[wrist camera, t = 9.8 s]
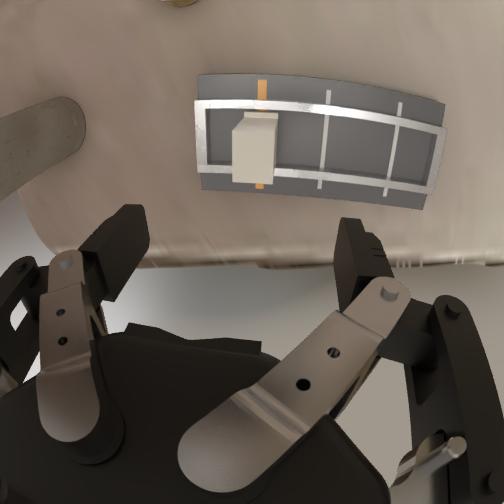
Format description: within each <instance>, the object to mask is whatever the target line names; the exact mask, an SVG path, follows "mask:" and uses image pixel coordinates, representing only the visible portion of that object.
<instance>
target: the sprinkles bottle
mask: <svg viewBox="0 0 504 504" xmlns="http://www.w3.org/2000/svg"><path fill="white" fill-rule="evenodd" d="M161 1H165V2H167V3H168V4H169V5H172V6H177V7H182V6H188V5H190V4H192V3H194V2H196V1H197V0H161Z"/></svg>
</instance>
